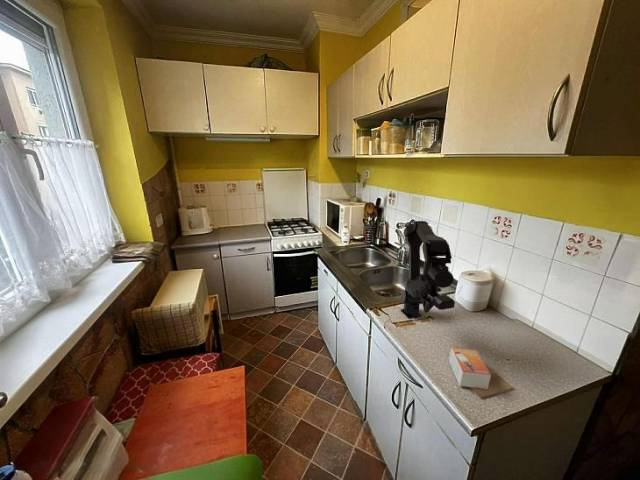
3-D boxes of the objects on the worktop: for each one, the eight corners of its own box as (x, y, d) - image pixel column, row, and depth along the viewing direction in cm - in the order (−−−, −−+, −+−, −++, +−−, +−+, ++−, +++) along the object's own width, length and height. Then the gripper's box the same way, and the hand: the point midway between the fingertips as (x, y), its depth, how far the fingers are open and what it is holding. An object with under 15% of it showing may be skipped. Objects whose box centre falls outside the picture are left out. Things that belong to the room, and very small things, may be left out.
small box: (476, 349, 84) (492, 375, 74) (473, 363, 86) (488, 390, 76) (450, 347, 86) (462, 371, 76) (448, 360, 87) (459, 386, 77)
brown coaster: (454, 372, 83) (455, 370, 83) (484, 364, 86) (484, 362, 86) (481, 399, 74) (481, 397, 74) (512, 388, 77) (513, 387, 77)
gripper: (396, 266, 96) (393, 302, 101) (430, 289, 79) (423, 332, 84) (422, 262, 99) (417, 298, 104) (459, 284, 82) (451, 326, 87)
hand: (426, 312), depth 94 cm, fingers closed
